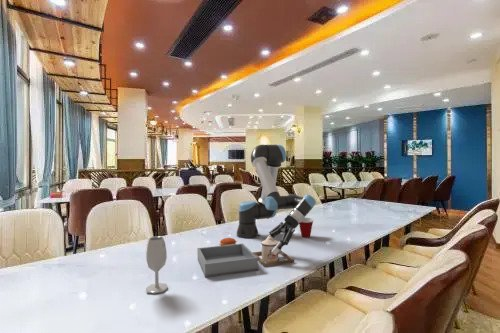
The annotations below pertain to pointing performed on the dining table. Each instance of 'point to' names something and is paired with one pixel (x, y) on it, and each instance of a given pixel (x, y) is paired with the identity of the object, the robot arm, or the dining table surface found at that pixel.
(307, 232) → the plastic cup
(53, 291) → the dining table surface
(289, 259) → the brown wooden frame
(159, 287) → the wineglass
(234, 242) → the hamburger
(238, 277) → the dining table surface
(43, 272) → the dining table surface
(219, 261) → the bus tub
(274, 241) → the teacup with lid
